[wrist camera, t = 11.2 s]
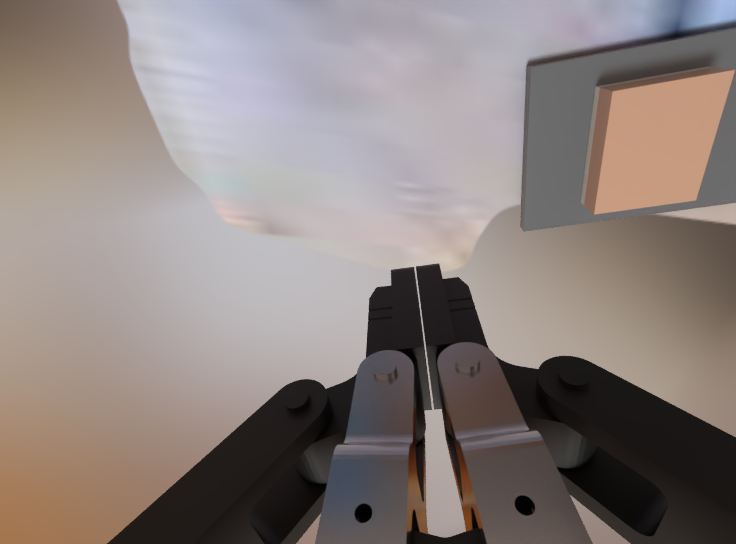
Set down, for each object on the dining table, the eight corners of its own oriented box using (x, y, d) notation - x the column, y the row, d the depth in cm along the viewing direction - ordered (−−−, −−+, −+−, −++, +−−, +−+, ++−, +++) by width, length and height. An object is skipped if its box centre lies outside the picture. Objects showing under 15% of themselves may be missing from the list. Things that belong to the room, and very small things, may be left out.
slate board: (526, 65, 34) (531, 66, 33) (806, 12, 31) (820, 12, 30) (520, 226, 42) (523, 231, 41) (739, 196, 40) (748, 200, 39)
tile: (612, 91, 31) (735, 69, 30) (595, 86, 34) (707, 66, 32) (593, 214, 37) (695, 200, 36) (580, 202, 39) (675, 188, 38)
